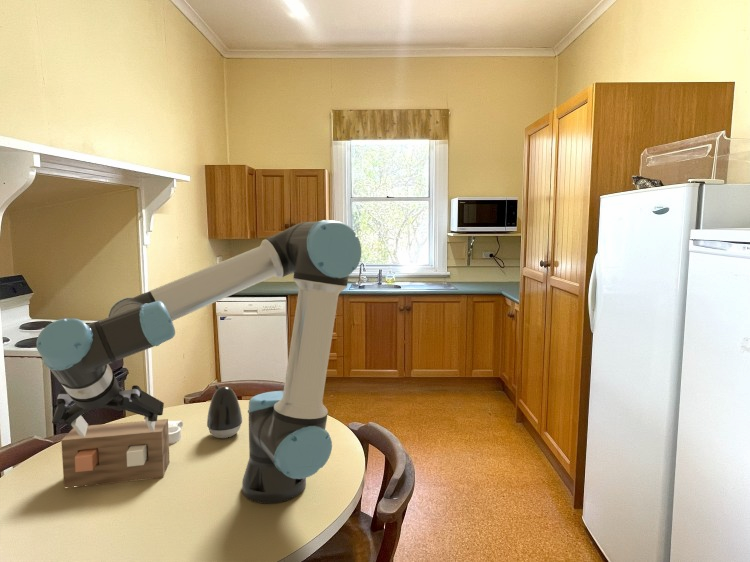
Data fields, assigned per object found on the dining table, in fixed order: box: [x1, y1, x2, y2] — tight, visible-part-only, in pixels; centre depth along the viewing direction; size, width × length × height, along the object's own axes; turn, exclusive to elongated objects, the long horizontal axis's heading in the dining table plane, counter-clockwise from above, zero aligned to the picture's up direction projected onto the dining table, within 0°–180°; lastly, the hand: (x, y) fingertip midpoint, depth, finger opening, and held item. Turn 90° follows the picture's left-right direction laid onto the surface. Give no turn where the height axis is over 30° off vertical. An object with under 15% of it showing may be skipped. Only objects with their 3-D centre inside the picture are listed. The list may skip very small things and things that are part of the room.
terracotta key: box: [75, 448, 99, 472], centre depth 109 cm, size 5×4×4 cm
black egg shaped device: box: [206, 384, 243, 439], centre depth 138 cm, size 10×10×15 cm
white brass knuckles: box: [168, 420, 184, 445], centre depth 137 cm, size 3×18×15 cm
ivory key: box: [127, 444, 148, 467], centre depth 112 cm, size 5×4×4 cm
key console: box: [61, 418, 171, 489], centre depth 115 cm, size 8×22×12 cm, turn 104°
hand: (119, 427), depth 98 cm, fingers open, 13 cm apart
